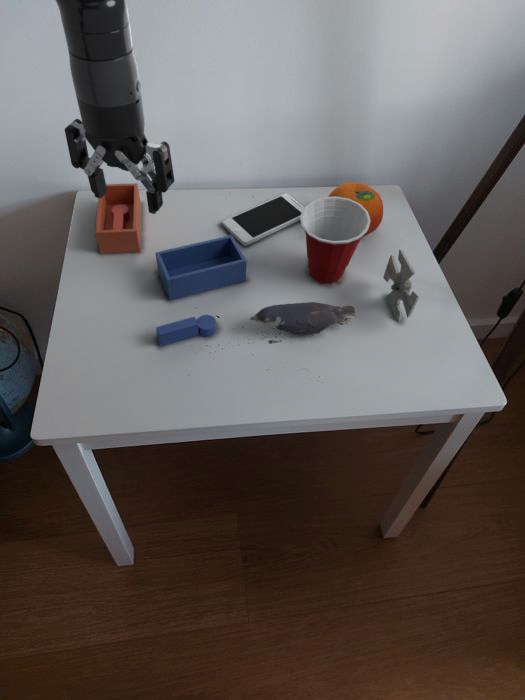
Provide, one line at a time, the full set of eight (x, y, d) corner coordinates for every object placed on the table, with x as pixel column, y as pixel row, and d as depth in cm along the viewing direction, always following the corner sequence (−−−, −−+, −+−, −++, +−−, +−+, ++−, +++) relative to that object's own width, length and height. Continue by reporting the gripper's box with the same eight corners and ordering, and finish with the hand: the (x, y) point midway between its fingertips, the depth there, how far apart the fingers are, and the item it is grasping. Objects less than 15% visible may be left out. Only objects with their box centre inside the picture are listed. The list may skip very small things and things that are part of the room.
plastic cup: (284, 256, 90) (291, 199, 80) (341, 247, 92) (354, 190, 83) (304, 300, 84) (314, 244, 74) (364, 289, 86) (382, 234, 76)
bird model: (356, 335, 80) (362, 314, 76) (251, 344, 78) (252, 323, 74) (349, 314, 83) (355, 293, 79) (247, 321, 80) (248, 300, 76)
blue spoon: (162, 350, 76) (160, 338, 74) (156, 335, 78) (154, 323, 76) (218, 333, 79) (218, 322, 76) (212, 319, 80) (212, 308, 78)
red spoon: (129, 244, 89) (126, 232, 86) (111, 245, 88) (108, 232, 86) (130, 211, 94) (127, 199, 92) (113, 212, 94) (110, 199, 91)
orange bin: (140, 251, 89) (136, 231, 85) (100, 253, 88) (95, 232, 84) (140, 204, 96) (137, 183, 93) (104, 205, 96) (99, 184, 92)
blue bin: (169, 300, 82) (167, 280, 78) (158, 273, 86) (155, 252, 82) (245, 281, 86) (246, 260, 82) (231, 255, 89) (232, 234, 86)
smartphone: (221, 224, 94) (221, 220, 93) (286, 196, 100) (286, 192, 99) (244, 246, 91) (244, 242, 90) (309, 215, 97) (310, 211, 96)
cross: (411, 330, 81) (431, 286, 73) (396, 332, 81) (414, 288, 73) (387, 284, 87) (403, 238, 79) (373, 286, 87) (387, 240, 79)
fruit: (310, 223, 96) (316, 187, 89) (348, 203, 100) (357, 167, 94) (350, 255, 91) (360, 218, 85) (389, 232, 95) (400, 196, 89)
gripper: (36, 88, 59) (69, 205, 72) (147, 116, 57) (161, 231, 70) (72, 62, 64) (97, 176, 77) (176, 87, 62) (184, 200, 74)
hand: (128, 202), depth 73 cm, fingers open, 8 cm apart
